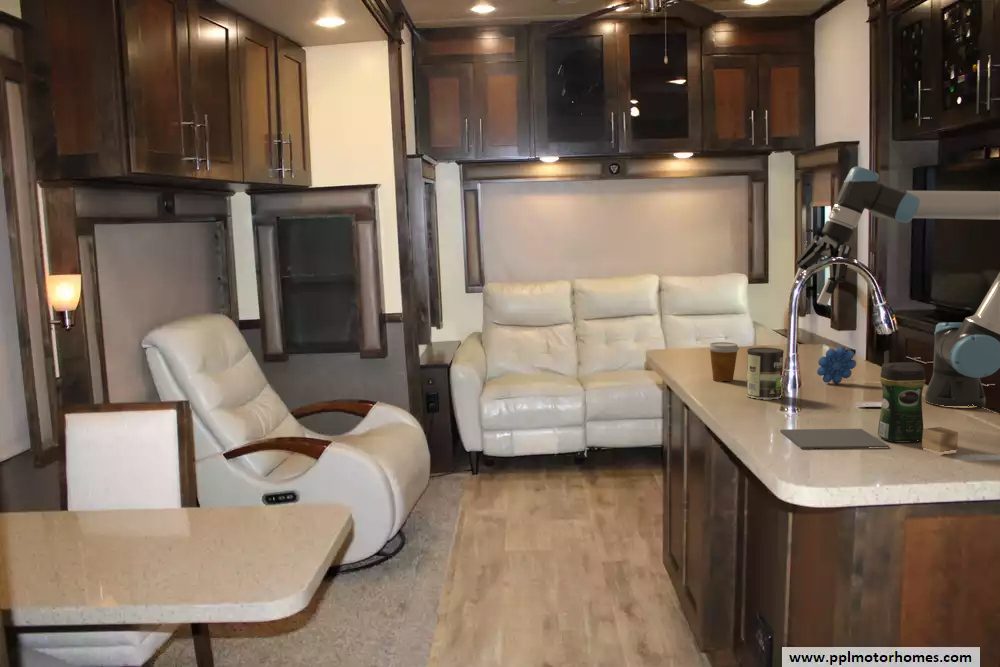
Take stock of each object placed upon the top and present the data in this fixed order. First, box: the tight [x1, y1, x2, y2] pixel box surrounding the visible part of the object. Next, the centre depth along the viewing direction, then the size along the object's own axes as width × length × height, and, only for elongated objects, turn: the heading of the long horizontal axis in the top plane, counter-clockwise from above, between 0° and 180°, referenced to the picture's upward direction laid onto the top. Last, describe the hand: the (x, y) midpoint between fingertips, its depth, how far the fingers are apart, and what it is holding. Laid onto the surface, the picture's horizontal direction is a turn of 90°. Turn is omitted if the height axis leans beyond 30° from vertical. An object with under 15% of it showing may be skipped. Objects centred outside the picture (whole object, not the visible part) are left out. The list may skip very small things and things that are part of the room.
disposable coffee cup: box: [708, 341, 739, 382], centre depth 280 cm, size 10×10×12 cm
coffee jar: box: [877, 362, 927, 442], centre depth 203 cm, size 10×8×19 cm
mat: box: [780, 428, 890, 450], centre depth 205 cm, size 20×16×1 cm
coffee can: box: [746, 347, 784, 401], centre depth 254 cm, size 10×10×14 cm
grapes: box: [816, 346, 857, 384], centre depth 272 cm, size 12×7×12 cm, turn 78°
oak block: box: [921, 426, 959, 452], centre depth 193 cm, size 5×5×5 cm
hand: (807, 297), depth 234 cm, fingers open, 13 cm apart
